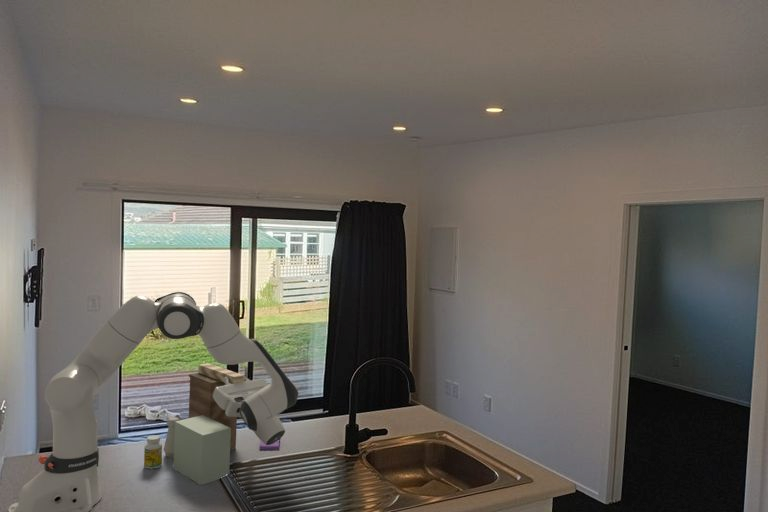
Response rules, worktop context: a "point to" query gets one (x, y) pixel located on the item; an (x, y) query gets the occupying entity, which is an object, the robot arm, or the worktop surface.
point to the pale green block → (202, 449)
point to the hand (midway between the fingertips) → (232, 376)
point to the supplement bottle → (153, 452)
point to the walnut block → (209, 403)
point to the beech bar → (220, 373)
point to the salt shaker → (170, 437)
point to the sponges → (269, 446)
